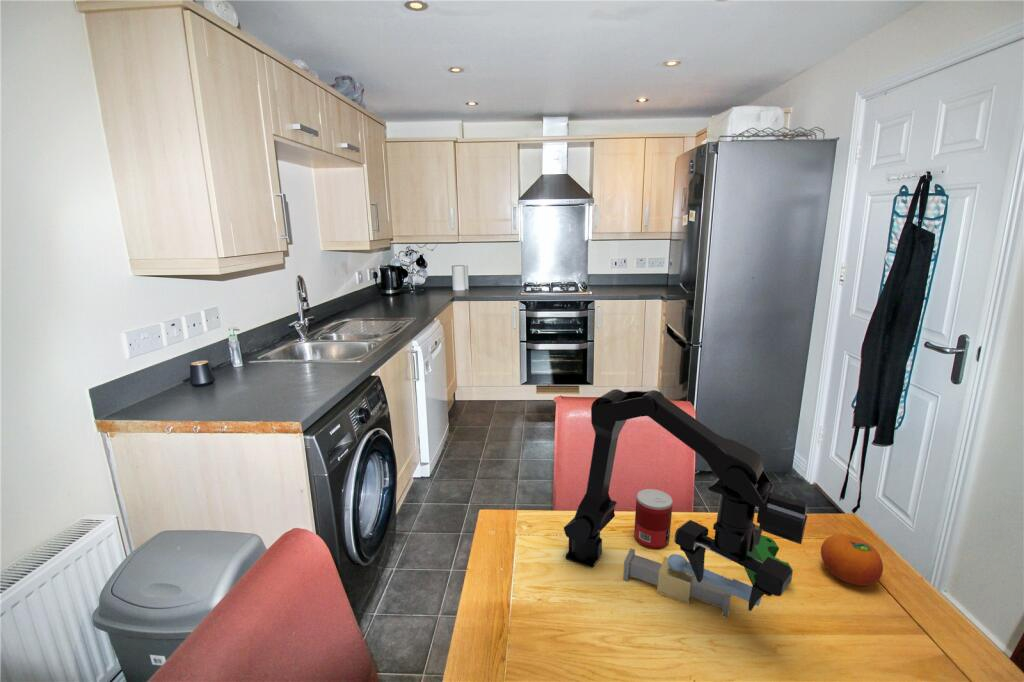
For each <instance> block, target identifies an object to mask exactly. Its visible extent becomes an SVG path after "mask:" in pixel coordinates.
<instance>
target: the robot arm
mask: <svg viewBox="0 0 1024 682" xmlns="http://www.w3.org/2000/svg"><path fill="white" fill-rule="evenodd" d="M590 417H591V418H590V422H591V425H592V427H593V431H594V441H593V442H594V443H593V449H592V454H591V460H590V466H589V471H588V472H589V473H588V479H587V483H586V484H587V486H586V491H585V493H584V496H583V498H582V499H581V501H580V503H579V505H578V507H577V509H576V512H575V515H574V517H573V518H572V519H571V520H570V521H569V522H568V523H567V524H565V526H563V531H564V534H565V537H567V538H568V551H567V553H566V554H565V555H564V556H565V559H566V560H569V561H571V562H574V563H577V564H580V565H583V566H585V567H589V568H591V569H592V568H594V567H595V565H596V563H597V562H598V561H600V558H601V556H602V552H603V550H602V548H603V539H602V538H601V532H602V531H603V529H605V527H606V526H607V525H608V524H609V523H610V522H611V521H612V520H613V519H614V518H615V516H616V515H615V508H616V506H617V503H618V502H617V501H616V500H614V499H613V500H612V498H611V497H610V486H611V480H612V475H613V469H614V463H615V459H616V458H615V457H616V451H617V446H618V442H619V441H618V440H619V435H620V433H621V431H622V430H623V427H624V426H625V424H626V423H627V421H628V420H631V419H635V418H639V417H648V418H650V419H651V420H652V421H654V422H655V423H656V424H658V425H659V426H660V427H662V428H663V429H664V430H666V431H667V432H668V433H670V435H672V436H673V437H674V438H676V439H678V440H679V441H681V442H682V443H683V444H684V445H686V446H687V447H688V448H690V450H691V449H692V451H694V452H695V453H696V454H698V455H699V456H700V457H701V458H703V460H704V461H705V462H706V464H707V466H708V467H709V468H710V471H711V472H712V474H714V475H715V476H716V477H717V478H716V479H713V480H712V482H710V484H709V486H708V491H709V492H710V491H711V492H713V493H716V494H719V500H718V507H717V515H716V522H714V523H713V525H712V526H713V528H712V529H713V531H715V532H714V538H711V537H709V536H708V535H709V531H710V530H709V528H708V527H706V526H704V525H702V524H700V523H698V522H696V521H694V520H691V519H689V520H687V521H686V522H684V523H683V524H682V525H681V526H679V527H678V528H677V529H676V531H675V533H674V539H673V541H674V544H676V545H678V546H679V549H680V551H682V552H684V554H685V557H686V559H687V561H688V562H690V564H691V567H692V569H693V571H694V574H695V576H696V579H697V581H698V582H699V583H700V582H701V581H702V578H703V573H704V569H705V557H706V551H707V550H708V551H710V552H712V553H714V554H715V555H718V556H719V557H722V558H724V559H726V560H727V561H730V562H734V563H736V564H738V565H740V566H742V567H744V568H745V567H746V568H748V569H750V570H752V571H754V572H756V577H755V583H754V584H753V583H752V585H751V586H752V590H751V595H750V599H749V602H748V605H747V606H748V607H747V609H748V610H747V611H749V612H752V610H754V607H755V606H757V605H756V603H757V602H758V600H759V599H760V598H761V597H764V595H766V596H767V597H772V596H775V597H781V596H782V595H783V594H784V592H785V591H786V589H787V588H788V586H789V585H790V584H791V582H792V581H793V580H792V579H793V572H792V571H791V569H790V567H791V566H790V567H789V566H787V565H785V564H783V563H781V562H778V561H776V560H774V559H772V558H770V557H768V558H767V559H766V560H765V561H764V562H761V561H759V560H757V559H755V558H752V557H750V556H748V554H749V551H750V552H753V551H754V550H755V545H759V541H760V537H761V535H762V533H763V532H765V533H767V534H771V535H773V536H776V537H779V538H782V539H784V540H787V541H790V542H793V543H794V544H795V543H796V544H798V545H802V543H803V539H804V534H805V531H806V525H807V519H808V515H807V511H808V509H807V508H808V503H807V501H804V500H800V499H796V498H790V497H788V496H784V495H781V494H778V493H774V492H773V489H774V484H773V482H772V481H771V479H770V477H769V476H768V474H767V473H766V471H765V469H764V463H763V458H762V457H761V455H760V454H759V453H758V452H757V451H755V450H754V449H752V448H750V447H748V446H746V445H744V444H743V443H740V442H739V441H736V440H733V439H729V438H727V437H726V438H725V437H722V436H721V435H719V434H717V433H716V432H714V431H713V430H711V429H710V428H709V427H708V426H706V425H704V424H703V423H701V422H700V421H699V420H697V419H696V418H695V417H693V416H692V415H690V414H689V413H687V411H684V410H683V409H682V408H681V407H679V406H678V405H676V404H675V403H673V402H672V401H671V400H669V399H668V398H667V397H665V395H664V394H663V393H662V392H661V391H658V390H656V389H655V390H647V391H643V390H633V391H623V390H621V389H618V388H616V389H611V390H610V391H608V392H607V393H604V394H602V395H601V396H600V397H597V398H596V399H594V400H593V402H592V403H591V406H590ZM755 486H756V487H755ZM756 507H757V508H758V510H757V517H756V523H757V524H755V523H754V521H755V520H754V519H755V513H756ZM758 524H759V525H758ZM746 568H745V569H746ZM761 599H762V598H761Z"/></svg>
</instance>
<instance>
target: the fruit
mask: <svg viewBox="0 0 1024 682" xmlns="http://www.w3.org/2000/svg"><path fill="white" fill-rule="evenodd" d="M820 557H821V559H822V562H823V564H824V566H825V568H826V569H827V570H828V571H829V573H831V574H832V575H833V576H835V577H836V578H838V579H839V580H841V581H843V582H844V583H845V582H846V583H849V584H852V585H858V586H868V585H871V584H874V583H876V582H878V581H879V580H880V578H882V576H883V572H884V571H883V570H884V565H883V561H882V557H881V555H880V553H879V552H878V550H877V549H876V548H875V547H874V546H872V544H870V543H869V542H867V541H866V540H864V539H863V538H861V537H857V536H854V535H852V534H846V533H835V534H832V535H830V536H828V537H827V538H826V539H824V541H823V543H821V546H820Z"/></svg>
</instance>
